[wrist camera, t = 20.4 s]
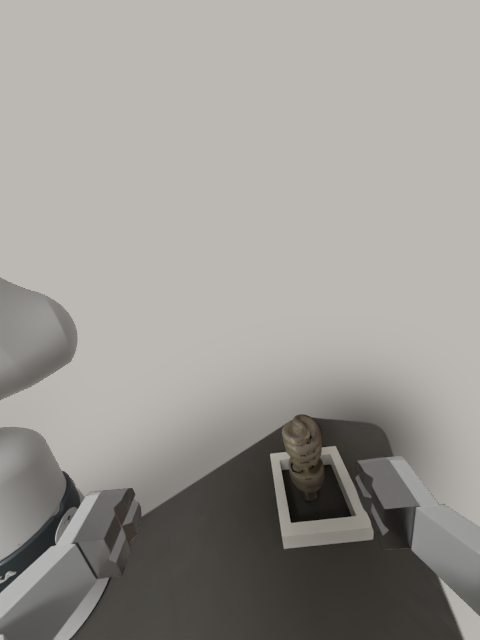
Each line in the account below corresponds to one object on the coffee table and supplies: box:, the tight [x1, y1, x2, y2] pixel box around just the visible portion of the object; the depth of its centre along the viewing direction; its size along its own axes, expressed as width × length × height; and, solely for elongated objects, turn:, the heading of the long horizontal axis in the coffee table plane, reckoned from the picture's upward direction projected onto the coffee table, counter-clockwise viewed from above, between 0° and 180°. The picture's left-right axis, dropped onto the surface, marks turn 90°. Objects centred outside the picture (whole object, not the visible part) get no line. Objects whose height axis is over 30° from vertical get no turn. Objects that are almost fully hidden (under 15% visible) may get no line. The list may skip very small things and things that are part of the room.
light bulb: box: [282, 415, 324, 501], centre depth 36 cm, size 6×6×15 cm
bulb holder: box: [270, 446, 373, 549], centre depth 38 cm, size 12×13×2 cm
